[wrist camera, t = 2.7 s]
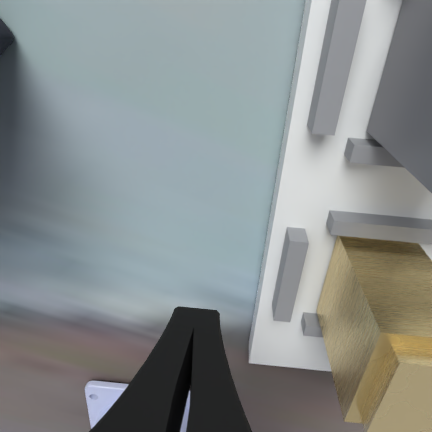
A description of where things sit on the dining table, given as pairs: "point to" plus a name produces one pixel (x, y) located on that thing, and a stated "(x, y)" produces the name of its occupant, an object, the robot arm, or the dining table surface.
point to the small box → (5, 37)
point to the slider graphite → (407, 93)
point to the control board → (330, 177)
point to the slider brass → (380, 332)
